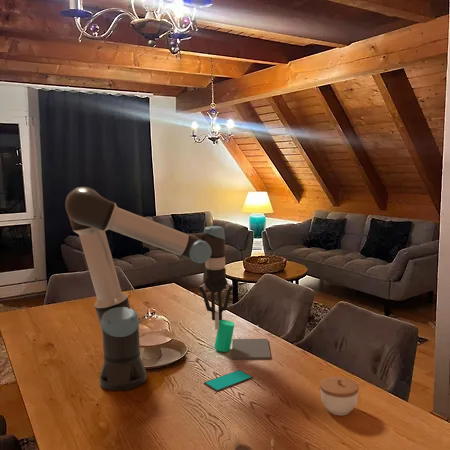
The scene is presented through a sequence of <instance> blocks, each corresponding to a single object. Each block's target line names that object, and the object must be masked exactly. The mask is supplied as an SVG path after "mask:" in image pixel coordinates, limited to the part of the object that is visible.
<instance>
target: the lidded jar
mask: <svg viewBox="0 0 450 450" xmlns="http://www.w3.org/2000/svg"><path fill="white" fill-rule="evenodd" d="M319 386H320V387H319V388H320V390H319V391H320V397H321V401H322V404H323V406H324V407H325V408H326V409H327V410H328V412H329V413H331V414H332V415H335V416H342V417H343V416H347V415H349V414H350V413H351V412H352V411H353V410H354V409H355V407H356V405H357V404H358V399H359V390H360V388H359V384H358V383H357V382H356V381H355V380H353V379H351V378H348V377H344V376H328V377H325V378H323V379H322V380H321V381H320V382H319Z"/></svg>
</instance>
